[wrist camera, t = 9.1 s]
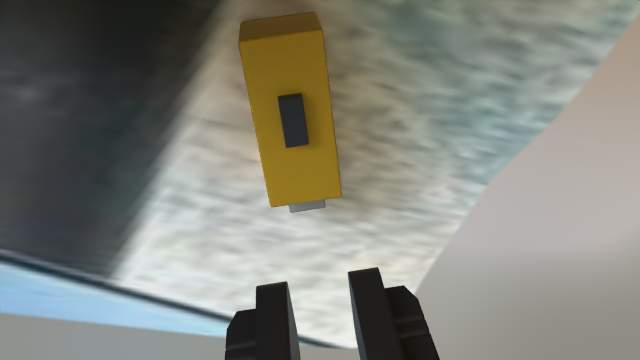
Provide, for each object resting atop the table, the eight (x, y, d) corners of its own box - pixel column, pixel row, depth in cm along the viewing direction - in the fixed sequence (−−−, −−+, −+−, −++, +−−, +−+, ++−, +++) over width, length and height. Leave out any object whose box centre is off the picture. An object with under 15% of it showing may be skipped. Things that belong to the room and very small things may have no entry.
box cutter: (239, 21, 22) (237, 44, 19) (316, 11, 22) (323, 31, 19) (273, 198, 26) (275, 237, 23) (337, 189, 26) (346, 226, 23)
